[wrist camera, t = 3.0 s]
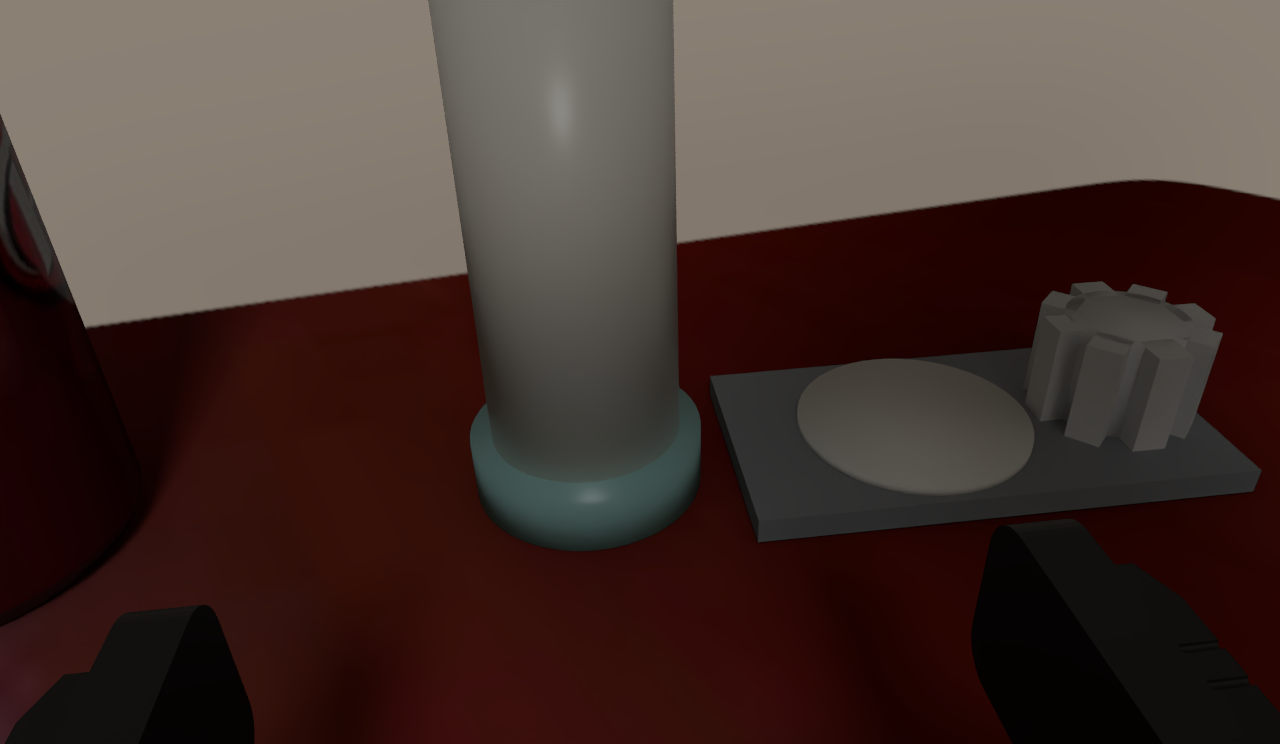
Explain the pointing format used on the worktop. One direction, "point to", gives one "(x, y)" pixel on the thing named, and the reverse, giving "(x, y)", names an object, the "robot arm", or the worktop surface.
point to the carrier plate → (988, 425)
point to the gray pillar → (571, 263)
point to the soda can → (51, 418)
